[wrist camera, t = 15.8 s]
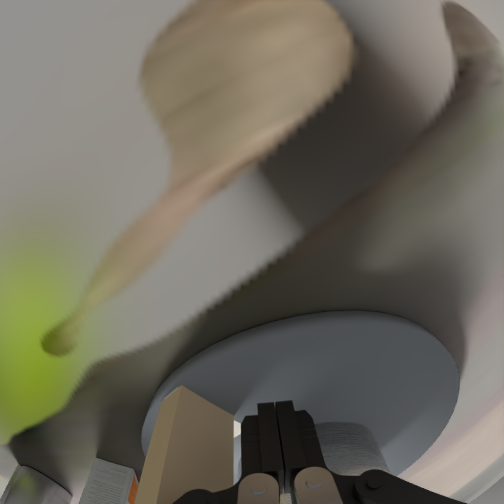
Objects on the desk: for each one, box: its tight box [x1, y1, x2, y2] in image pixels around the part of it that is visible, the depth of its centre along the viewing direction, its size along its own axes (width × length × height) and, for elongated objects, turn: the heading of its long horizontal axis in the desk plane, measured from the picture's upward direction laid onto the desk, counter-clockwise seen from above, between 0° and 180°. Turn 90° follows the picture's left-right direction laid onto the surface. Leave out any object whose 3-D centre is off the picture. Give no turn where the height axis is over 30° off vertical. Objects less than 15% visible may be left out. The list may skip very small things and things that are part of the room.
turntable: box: [134, 310, 460, 504], centre depth 13 cm, size 24×24×9 cm
